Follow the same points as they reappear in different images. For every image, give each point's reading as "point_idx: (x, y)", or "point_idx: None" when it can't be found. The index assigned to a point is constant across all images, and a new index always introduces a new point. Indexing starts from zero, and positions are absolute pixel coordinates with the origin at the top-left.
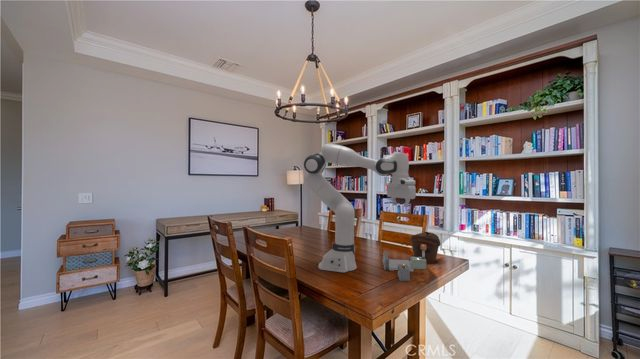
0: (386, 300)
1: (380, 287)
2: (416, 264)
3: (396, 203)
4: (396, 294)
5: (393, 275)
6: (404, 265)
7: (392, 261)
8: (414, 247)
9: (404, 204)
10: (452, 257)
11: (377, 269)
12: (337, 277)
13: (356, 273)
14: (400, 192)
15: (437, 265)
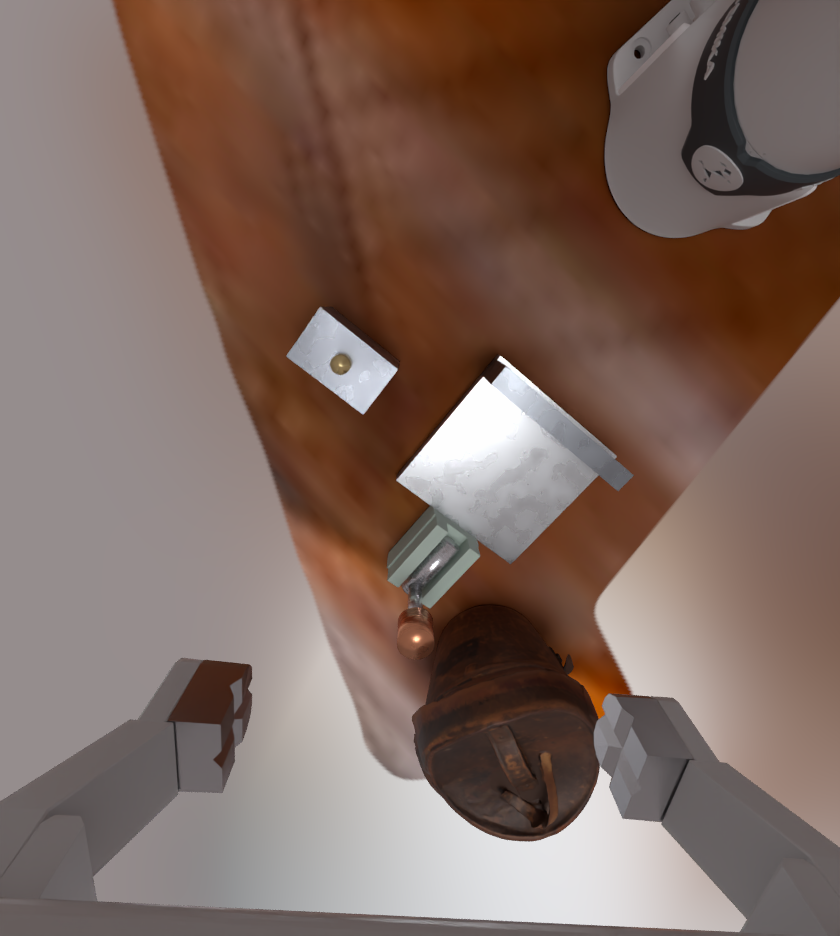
0: (141, 8)
1: (301, 121)
2: (419, 529)
3: (612, 773)
4: (188, 134)
5: (406, 335)
6: (331, 362)
7: (548, 473)
8: (521, 646)
9: (207, 704)
10: None
11: (527, 322)
12: None
13: (550, 142)
14: None
15: None
